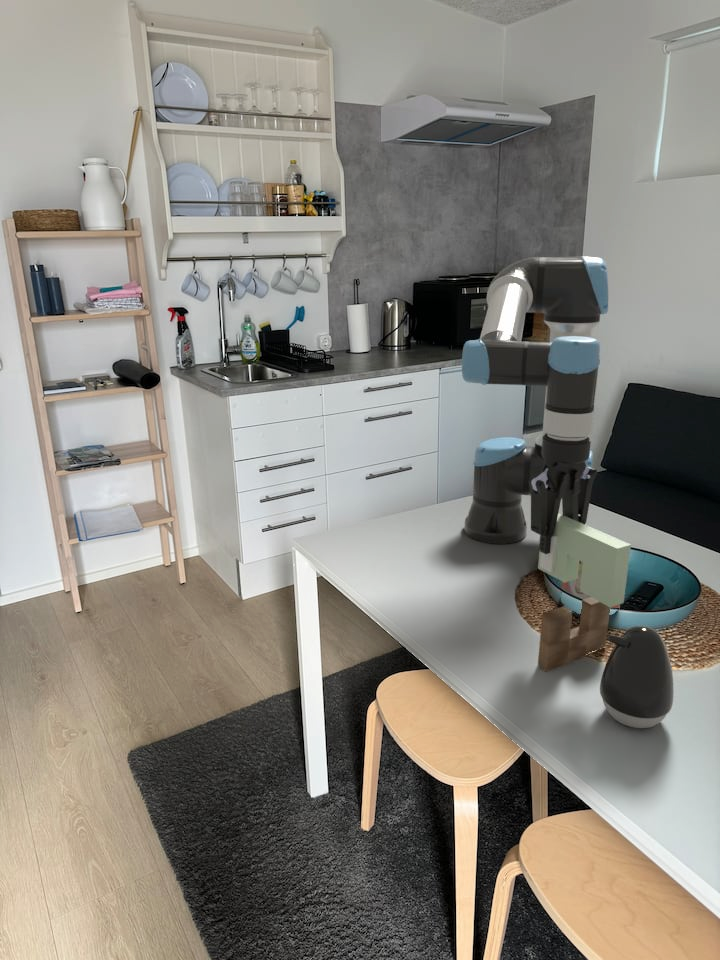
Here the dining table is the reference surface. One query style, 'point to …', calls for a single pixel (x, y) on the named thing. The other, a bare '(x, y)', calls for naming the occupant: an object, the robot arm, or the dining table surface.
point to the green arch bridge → (591, 560)
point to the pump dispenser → (638, 678)
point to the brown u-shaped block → (572, 634)
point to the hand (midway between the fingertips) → (555, 566)
